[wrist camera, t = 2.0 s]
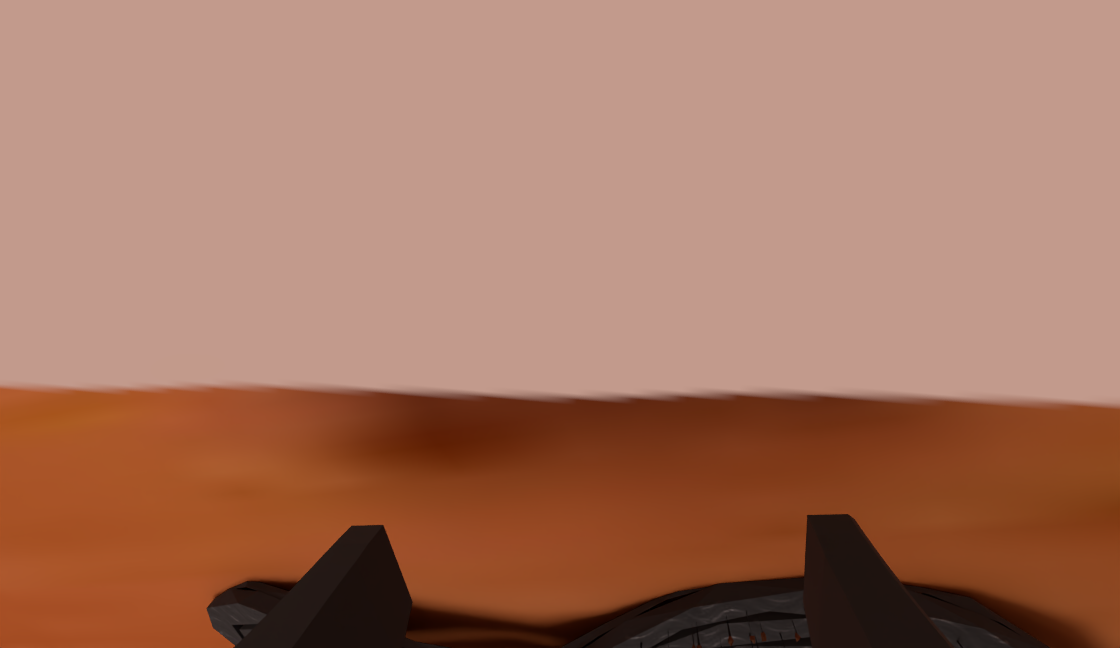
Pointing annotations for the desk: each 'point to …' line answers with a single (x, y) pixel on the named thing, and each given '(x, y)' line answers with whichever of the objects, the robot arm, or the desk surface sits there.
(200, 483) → the desk surface
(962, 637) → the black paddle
